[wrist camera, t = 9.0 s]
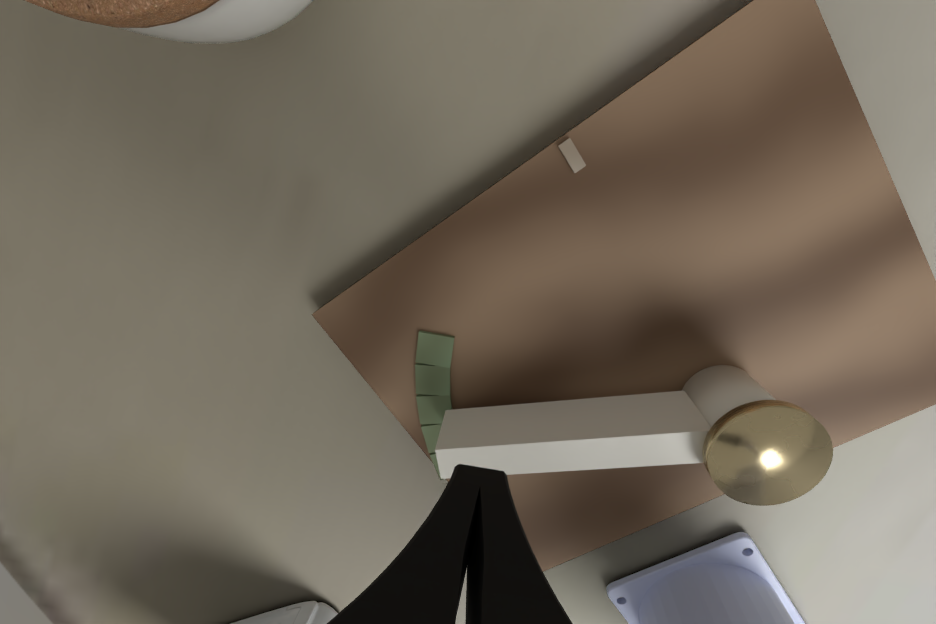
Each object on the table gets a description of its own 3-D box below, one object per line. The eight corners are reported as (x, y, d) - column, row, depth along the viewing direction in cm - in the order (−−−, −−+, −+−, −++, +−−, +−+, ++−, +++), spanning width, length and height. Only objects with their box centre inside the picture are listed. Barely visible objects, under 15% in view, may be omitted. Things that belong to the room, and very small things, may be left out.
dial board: (962, 376, 19) (985, 387, 18) (524, 566, 25) (524, 582, 24) (786, -24, 15) (804, -36, 14) (316, 310, 21) (307, 317, 20)
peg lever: (770, 352, 19) (838, 404, 15) (764, 434, 20) (827, 502, 16) (442, 381, 21) (424, 435, 17) (455, 455, 22) (442, 520, 18)
